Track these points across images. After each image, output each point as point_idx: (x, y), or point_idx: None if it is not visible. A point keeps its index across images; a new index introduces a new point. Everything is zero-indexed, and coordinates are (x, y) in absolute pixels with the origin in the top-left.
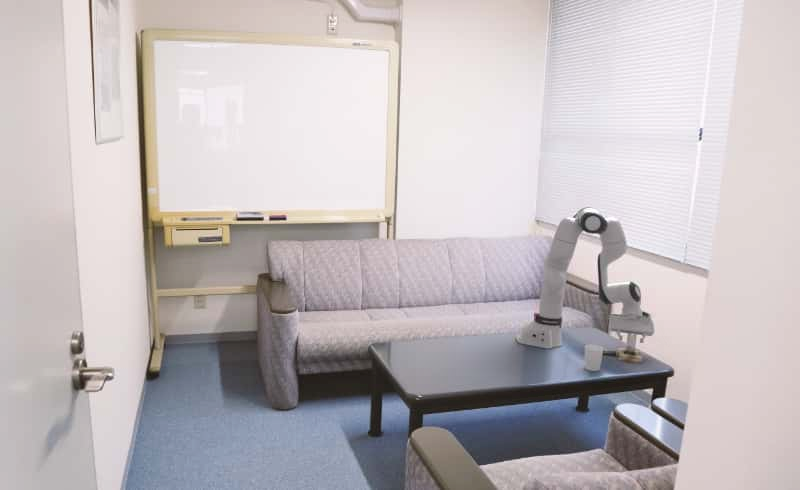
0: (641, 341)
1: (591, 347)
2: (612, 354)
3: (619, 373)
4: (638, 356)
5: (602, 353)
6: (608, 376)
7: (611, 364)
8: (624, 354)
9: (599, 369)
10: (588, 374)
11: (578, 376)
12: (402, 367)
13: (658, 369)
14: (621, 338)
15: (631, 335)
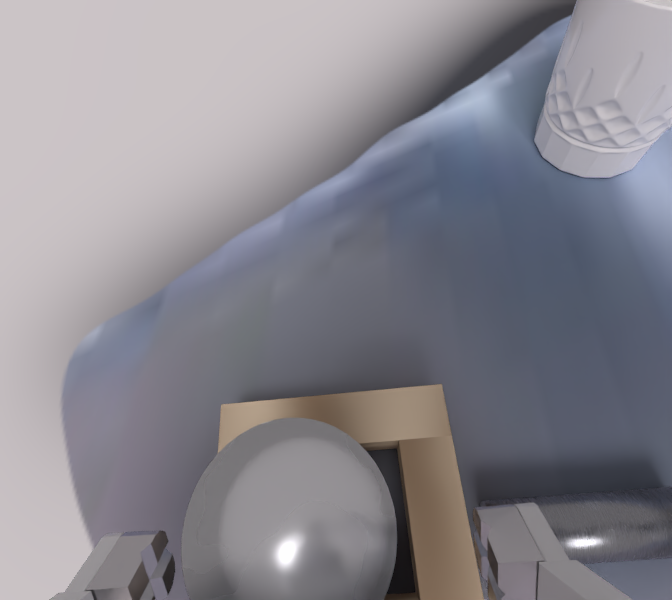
0: (144, 532)
1: None
2: (520, 499)
3: (409, 149)
4: None
5: (576, 4)
6: (464, 90)
7: (480, 266)
8: (395, 425)
9: (536, 130)
10: None
11: None
12: None
13: (135, 327)
14: (494, 506)
15: (313, 421)
